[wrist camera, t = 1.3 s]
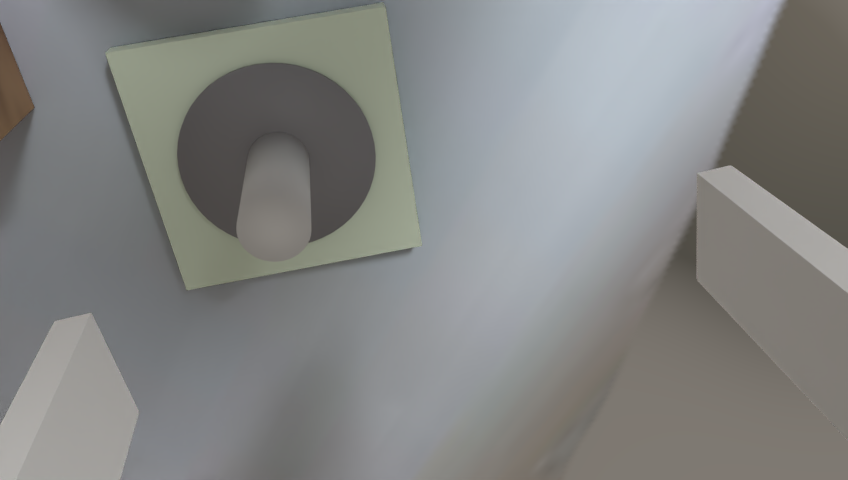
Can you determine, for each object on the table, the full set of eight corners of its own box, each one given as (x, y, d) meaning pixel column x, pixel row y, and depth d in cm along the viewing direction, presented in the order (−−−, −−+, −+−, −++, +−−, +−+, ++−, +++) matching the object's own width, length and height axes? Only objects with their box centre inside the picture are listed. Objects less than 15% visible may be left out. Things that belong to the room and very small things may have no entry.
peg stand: (110, 47, 32) (54, 106, 25) (383, 2, 33) (407, 46, 25) (189, 280, 38) (163, 383, 30) (419, 236, 38) (447, 326, 31)
